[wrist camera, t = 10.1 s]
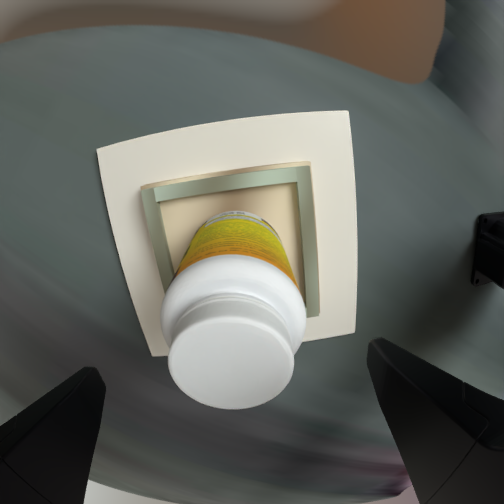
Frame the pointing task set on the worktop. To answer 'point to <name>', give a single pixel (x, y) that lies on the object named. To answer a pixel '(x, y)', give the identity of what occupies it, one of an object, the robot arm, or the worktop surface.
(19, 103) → the worktop surface
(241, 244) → the supplement bottle
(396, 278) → the worktop surface
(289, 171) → the square wooden tray
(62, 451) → the robot arm
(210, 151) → the cream square board
